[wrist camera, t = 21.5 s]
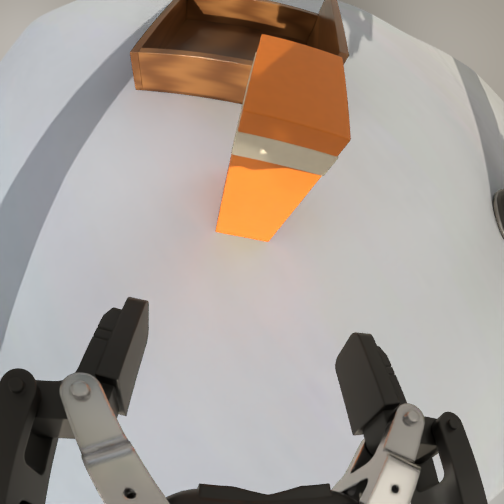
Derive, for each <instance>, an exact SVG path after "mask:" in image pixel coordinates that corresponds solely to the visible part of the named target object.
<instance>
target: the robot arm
mask: <svg viewBox="0 0 504 504" xmlns="http://www.w3.org/2000/svg"><path fill="white" fill-rule="evenodd" d="M493 205H494V212H495V217H496V221H497V224H498V227H499V230H500V232H501V235H502V237H503V239H504V189H501V190H499V191H497V192H496V193H495V195H494V199H493ZM148 330H149V303H148V301H146V300H141V299H136V298H132V297H128V298H127V300H126V302H125V304H124V307H123V309H117V308H112V309H111V310H109V311H108V312H107V313H106V314H104V315H103V317H102V319H101V321H100V323H99V325H98V328H97V329H96V331H95V333H94V336H93V337H92V339H91V341H90V343H89V345H88V348H87V350H86V352H85V354H84V356H83V358H82V361H81V363H80V365H79V367H78V369H77V371H76V372H75V373H73V374H70V375H69V376H67V377H66V378H65V379H64V380H62V381H41V380H35V379H34V377H33V375H32V374H31V373H30V372H28V371H26V370H24V369H19V368H18V369H12V370H10V371H8V372H7V373H6V374H5V375H4V376H3V377H2V379H1V381H0V504H45V501H46V495H47V489H48V483H49V478H50V473H51V468H52V463H53V459H54V454H55V450H56V446H57V442H58V438H70V439H76V441H77V444H78V446H79V448H80V451H81V454H82V460H83V463H84V465H85V467H86V470H87V472H88V474H89V476H90V478H91V480H92V482H93V484H94V486H95V487H96V489H97V491H98V493H99V495H100V497H101V498H102V500H103V502H104V504H410V503H411V504H488V503H487V499H486V495H485V491H484V488H483V484H482V481H481V477H480V474H479V471H478V467H477V464H476V461H475V458H474V455H473V452H472V449H471V446H470V443H469V441H468V438H467V435H466V433H465V430H464V427H463V425H462V422H461V420H460V419H459V417H458V416H457V415H455V414H454V413H451V412H445V413H443V414H442V415H441V416H440V417H439V418H438V419H435V418H430V417H424V415H423V413H422V412H421V410H420V409H419V408H417V407H416V406H415V405H412V404H408V403H407V402H406V399H405V397H404V394H403V392H402V389H401V387H400V385H399V382H398V380H397V377H396V375H394V370H393V368H392V367H391V364H390V361H389V359H388V357H387V355H386V354H385V353H384V352H383V350H382V349H381V348H380V347H379V346H377V345H376V343H375V340H374V338H373V336H372V335H371V334H366V333H352V334H351V336H350V337H349V339H348V341H347V342H346V344H345V345H344V347H343V349H342V350H341V352H340V353H339V355H338V357H337V359H336V364H335V369H336V373H337V377H338V381H339V384H340V388H341V391H342V395H343V399H344V403H345V406H346V410H347V414H348V418H349V422H350V426H351V429H352V433H353V435H362V434H364V439H363V440H362V441H361V443H360V445H359V447H358V449H357V451H356V453H355V455H354V457H353V459H352V461H351V463H350V465H349V467H348V469H347V471H346V472H345V474H344V476H343V477H342V478H341V479H340V480H339V481H338V482H337V483H336V485H335V486H334V487H333V488H332V490H330V484H320V485H309V486H299V487H296V488H293V489H289V490H286V491H282V492H279V493H275V494H270V495H267V494H261V493H257V492H253V491H249V490H245V489H241V488H237V487H232V486H218V485H208V484H199V486H198V488H197V489H191V490H186V491H181V492H178V493H175V494H172V495H170V496H168V497H165V496H164V495H163V493H162V492H161V490H160V489H159V487H158V486H157V484H156V483H155V481H154V480H153V478H152V477H151V475H150V474H149V472H148V471H147V469H146V467H145V466H144V464H143V462H142V461H141V459H140V458H139V456H138V454H137V452H136V451H135V449H134V447H133V446H132V444H131V443H130V441H128V439H127V438H126V436H125V434H124V432H123V430H122V428H121V426H120V424H119V422H118V420H117V416H118V414H120V415H124V416H126V415H127V411H128V407H129V403H130V400H131V396H132V392H133V389H134V385H135V381H136V378H137V374H138V371H139V367H140V364H141V361H142V357H143V354H144V351H145V347H146V344H147V339H148ZM438 453H439V456H440V459H441V462H442V466H443V469H444V478H443V480H442V481H441V482H440V483H439V481H438V478H437V474H436V470H435V466H434V463H433V459H432V457H433V456H435V455H436V454H438Z"/></svg>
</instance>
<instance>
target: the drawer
mask: <svg viewBox="0 0 504 504" xmlns="http://www.w3.org/2000/svg"><path fill="white" fill-rule="evenodd" d="M262 34H265V35H269V36H274V37H278V38H282V39H286V40H289V41H293V42H297V43H300V44H303V45H307V46H310V47H313V48H316V49H320V50H323V51H326V52H329V53H331V54H334V55H337V56H340V57H342V59H343V65H344V63H345V61H346V60H347V58H348V56H349V52H348V47H347V42H346V37H345V32H344V28H343V23H342V19H341V14H340V10H339V6H338V2H337V0H324V2H323V4H322V7H321V9H320V11H319V13H318V14H317V13H314V12H310V11H307V10H304V9H300V8H297V7H293V6H289V5H285V4H281V3H277V2H273V1H268V0H173V1H172V2H171V3H170V4H169V5H168V6H167V7H166V8H165V10H164V11H163V12H162V13H161V14H160V15H159V16H158V18H157V19H156V20H155V21H154V22H153V23H152V25H151V26H150V27H149V28H148V30H147V31H146V32H145V33H144V35H143V36H142V37H141V38H140V40H139V41H138V42H137V44H136V45H135V46H134V48H133V49H132V50H131V52H130V56H131V63H132V69H133V76H134V82H135V88H136V90H147V91H158V92H168V93H177V94H185V95H192V96H199V97H206V98H212V99H218V100H223V101H229V102H234V103H239V104H243V100H244V96H245V92H246V88H247V84H248V80H249V76H250V72H251V68H252V64H253V60H254V57H255V53H256V52H257V49H258V46H259V42H260V38H261V35H262Z"/></svg>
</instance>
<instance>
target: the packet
mask: <svg viewBox="0 0 504 504" xmlns="http://www.w3.org/2000/svg"><path fill="white" fill-rule="evenodd" d="M350 139H351V138H350V124H349V111H348V101H347V91H346V82H345V74H344V66H343V59H342V57H340V56H337V55H334V54H331V53H329V52H326V51H323V50H320V49H316V48H313V47H310V46H307V45H303V44H300V43H297V42H293V41H289V40H286V39H282V38H278V37H274V36H269V35H265V34H262V35H261V38H260V42H259V46H258V49H257V52H256V53H255V57H254V60H253V64H252V68H251V72H250V76H249V80H248V84H247V88H246V92H245V96H244V100H243V104H242V108H241V113H240V117H239V121H238V125H237V130H236V134H235V139H234V143H233V147H232V152H231V153H232V154H231V158H230V163H229V167H228V172H227V177H226V181H225V186H224V191H223V196H222V201H221V206H220V211H219V216H218V221H217V226H216V232H220V233H225V234H230V235H235V236H241V237H246V238H251V239H256V240H261V241H267V242H268V241H269V240H270V239H271V238H272V237H273V235H274V234H275V233H276V232H277V230H278V229H279V228H280V227H281V225H282V224H283V223H284V222H285V221H286V219H287V218H288V217H289V216H290V214H291V213H292V212H293V211H294V209H295V208H296V207H297V206H298V205H299V203H300V202H301V201H302V200H303V198H304V197H305V196H306V195H307V193H308V192H309V191H310V190H311V188H312V187H313V186H314V185H315V184H316V182H317V181H318V180H319V179H320V177H321V176H324V175H325V174H326V172H327V171H328V170H329V169H330V167H331V166H332V165H333V164H334V163H335V161H336V160H337V159H338V155H339V154H340V153H341V151H342V150H343V149H344V148H345V146H346V145H347V144H348V143H349V141H350Z"/></svg>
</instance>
